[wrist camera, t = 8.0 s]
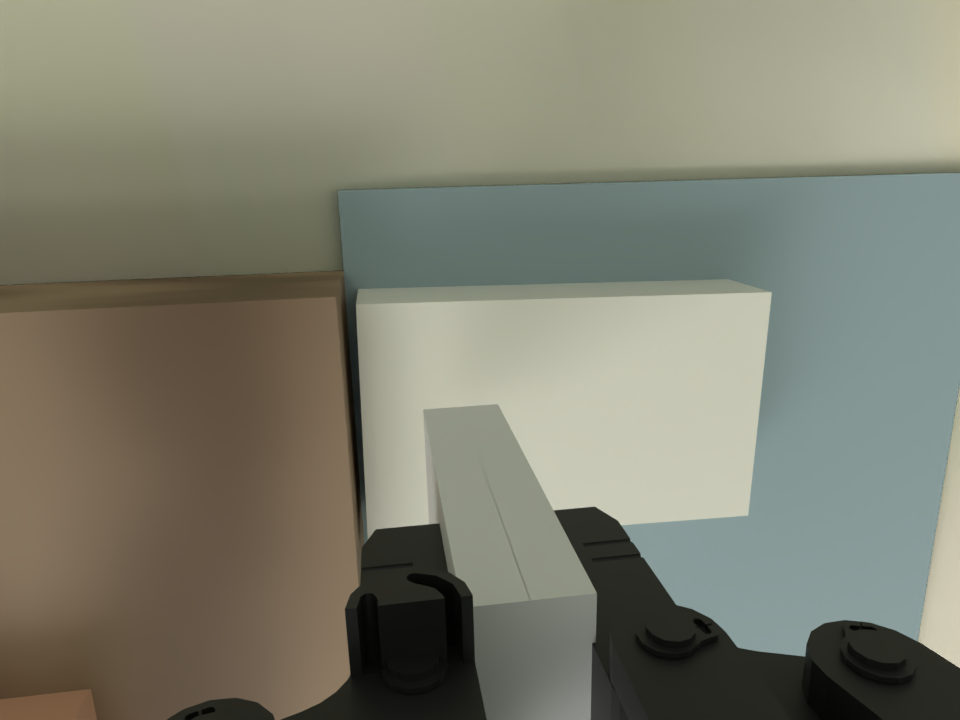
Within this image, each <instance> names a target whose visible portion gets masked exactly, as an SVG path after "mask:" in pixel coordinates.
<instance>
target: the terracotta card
mask: <svg viewBox="0 0 960 720" xmlns="http://www.w3.org/2000/svg"><path fill="white" fill-rule="evenodd" d="M0 720H97V717H96V712H95V707H94V702H93V697H92V692H91V689H86V690H77V691H69V692H60V693H51V694H43V695H34V696H26V697H17V698H8V699H0Z"/></svg>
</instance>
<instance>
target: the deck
mask: <svg viewBox="0 0 960 720" xmlns="http://www.w3.org/2000/svg"><path fill="white" fill-rule="evenodd" d="M363 545H364V532H363V519H362V506H361V493H360V479H359V466H358V453H357V440H356V427H355V414H354V400H353V387H352V374H351V361H350V348H349V335H348V322H347V308H346V295H345V282H344V271H321V272H298V273H275V274H252V275H229V276H206V277H183V278H159V279H136V280H113V281H90V282H67V283H44V284H21V285H0V699H8V698H17V697H26V696H34V695H43V694H51V693H60V692H69V691H77V690H86V689H91V692H92V697H93V702H94V707H95V712H96V717H97V720H167V719H168V718H170V717H172V716H173V715H175V714H176V713H178V712H180V711H181V710H183V709H186V708H188V707H191V706H194V705H197V704H200V703H203V702H206V701H209V700H216V699H226V698H240V699H245V700H249V701H254V702H258V703H259V704H260V705H262V706H263V707H264V708H266V709H267V710H268V711H269V712H271V713H272V714H273V716H274V719H275V720H281V719H283V718H286V717H289V716H291V715H294V714H297V713H299V712H302V711H304V710H306V709H308V708H310V707H313V706H315V705H317V704H319V703H321V702H322V701H324V700H325V699H327V698H328V697H329V696H331V695H332V694H334V693H335V692H336V691H337V690H338V689H339V688H340V687H341V686H342V685H343V684H344V683H345V682H346V681H347V680H348V678H349V676H350V664H349V653H348V641H347V630H346V619H345V607H346V605H347V602H348V599H349V597H350V594H351V593H353V592H354V591H355V590H356V589H357V588H358V587H359V586H360V579H361V554H362V547H363Z"/></svg>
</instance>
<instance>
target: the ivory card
mask: <svg viewBox="0 0 960 720" xmlns="http://www.w3.org/2000/svg"><path fill="white" fill-rule="evenodd" d="M771 296H772V292H769V291H766V290H763V289H759V288H756V287H753V286H749V285H746V284H743V283H739V282H736V281H733V280H729V279H715V280H677V281H639V282H601V283H563V284H525V285H487V286H449V287H411V288H373V289H358V293H357V300H356V319H357V338H358V358H359V378H360V397H361V417H362V437H363V456H364V476H365V496H366V515H367V535H368V539H369V538H370V536H371V535H372V534H373V532H374V531H375V530H376V529H384V528H395V527H405V526H416V525H427V524H429V514H428V494H427V474H426V454H425V434H424V414H423V409H436V408H450V407H464V406H478V405H492V404H498V405H499V407H500V409H501V411H502V413H503V415H504V417H505V419H506V420H507V422H508V424H509V426H510V428H511V430H512V432H513V434H514V436H515V438H516V440H517V441H518V443H519V445H520V447H521V449H522V451H523V453H524V455H525V457H526V459H527V461H528V463H529V464H530V466H531V468H532V470H533V472H534V474H535V476H536V478H537V480H538V482H539V484H540V485H541V487H542V489H543V491H544V493H545V495H546V497H547V499H548V501H549V503H550V505H551V506H552V508H553V510H563V509H574V508H585V507H597V508H598V509H600V510H601V511H603V512H605V513H606V514H608V515H609V516H611V517H613V518H614V519H616V520H618V522H619V523H620V524H621V525H632V524H645V523H659V522H672V521H685V520H698V519H711V518H724V517H737V516H748V513H749V503H750V494H751V484H752V475H753V465H754V456H755V447H756V437H757V428H758V418H759V409H760V399H761V390H762V381H763V371H764V362H765V352H766V343H767V333H768V324H769V315H770V305H771Z"/></svg>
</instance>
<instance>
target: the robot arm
mask: <svg viewBox="0 0 960 720" xmlns="http://www.w3.org/2000/svg"><path fill="white" fill-rule="evenodd" d="M423 414H424V434H425V454H426V474H427V494H428V514H429V524H427V525H416V526H405V527H395V528H384V529H376V530H375V531H374V532H373V534H372V535H371V536H370V538H369V539H368V540H367V542H366V543H365V544H364V545H363V547H362V554H361V579H360V586H359V587H358V588H357V589H356V590H355V591H354V592H353V593H351V594H350V597H349V599H348V602H347V605H346V607H345V619H346V630H347V641H348V653H349V664H350V676H349V678H348V680H347V681H346V682H345V683H344V684H343V685H342V686H341V687H340V688H339V689H338V690H337V691H336V692H335V693H334V694H332V695H331V696H329V697H328V698H327V699H325V700H324V701H322V702H321V703H319V704H317V705H315V706H313V707H310V708H308V709H306V710H304V711H302V712H299V713H297V714H294V715H291V716H289V717H286V718H283V719H281V720H960V668H958V667H957V666H955V665H954V664H952V663H951V662H949V661H948V660H946V659H944V658H943V657H941V656H940V655H938V654H937V653H935V652H934V651H932V650H930V649H929V648H927V647H926V646H924V645H923V644H921V643H919V642H917V641H915V640H913V639H912V638H910V637H908V636H906V635H904V634H902V633H900V632H898V631H896V630H893V629H889V628H886V627H883V626H879V625H876V624H873V623H869V622H862V621H860V622H859V621H849V620H842V621H835V622H828V623H824V624H822V625H821V626H819V627H817V628H816V629H814V630H812V631H811V633H810V636H809V639H808V641H807V644H806V653H805V656H796V655H787V654H778V653H769V652H759V651H753V650H748V649H742V648H738V647H737V646H736V645H735V643H734V642H733V641H732V639H731V638H730V637H729V636H728V634H727V633H726V632H725V631H724V630H723V629H722V628H721V627H720V626H719V625H718V624H717V623H716V622H714V621H713V620H712V619H711V618H709V617H707V616H705V615H703V614H701V613H699V612H697V611H695V610H693V609H690V608H686V607H682V606H678V605H676V604H675V602H674V601H673V600H672V598H671V597H670V595H669V594H668V592H667V591H666V589H665V588H664V587H663V585H662V584H661V582H660V581H659V579H658V578H657V576H656V575H655V574H654V572H653V571H652V569H651V568H650V566H649V565H648V563H647V562H646V561H645V559H644V558H643V557H641V553H640V552H639V550H638V549H637V548H636V546H635V545H634V543H633V542H631V541H630V537H629V536H628V535H627V533H626V532H625V530H624V529H623V527H622V526H621V524H620V523H619V522H618V520H616V519H614V518H613V517H611V516H609V515H608V514H606V513H605V512H603V511H601V510H600V509H598V508H597V507H585V508H574V509H563V510H553V508H552V506H551V505H550V503H549V501H548V499H547V497H546V495H545V493H544V491H543V489H542V487H541V485H540V484H539V482H538V480H537V478H536V476H535V474H534V472H533V470H532V468H531V466H530V464H529V463H528V461H527V459H526V457H525V455H524V453H523V451H522V449H521V447H520V445H519V443H518V441H517V440H516V438H515V436H514V434H513V432H512V430H511V428H510V426H509V424H508V422H507V420H506V419H505V417H504V415H503V413H502V411H501V409H500V407H499V405H498V404H492V405H478V406H464V407H450V408H436V409H423ZM167 720H275V719H274V716H273V714H272V713H271V712H269V711H268V710H267V709H266V708H264V707H263V706H262V705H260V704H259V703H258V702H254V701H249V700H245V699H240V698H226V699H216V700H209V701H206V702H203V703H200V704H197V705H194V706H191V707H188V708H186V709H183V710H181V711H180V712H178V713H176V714H175V715H173V716H172V717H170V718H168V719H167Z"/></svg>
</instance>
